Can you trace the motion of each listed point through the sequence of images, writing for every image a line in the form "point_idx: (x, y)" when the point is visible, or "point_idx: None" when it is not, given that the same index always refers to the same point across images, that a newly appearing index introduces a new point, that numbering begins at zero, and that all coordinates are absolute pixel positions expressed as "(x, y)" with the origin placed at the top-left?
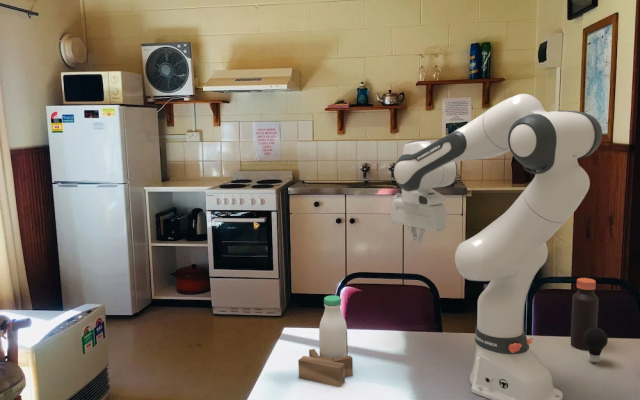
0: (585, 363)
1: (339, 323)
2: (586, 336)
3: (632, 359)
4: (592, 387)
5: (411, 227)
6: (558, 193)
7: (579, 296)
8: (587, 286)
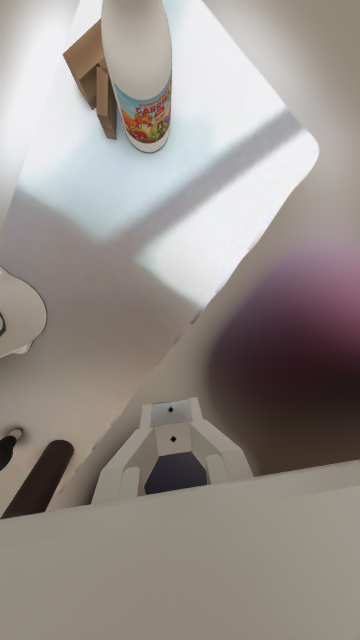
0: (21, 422)
1: (101, 23)
2: None
3: (13, 463)
4: None
5: (211, 477)
6: None
7: None
8: None
